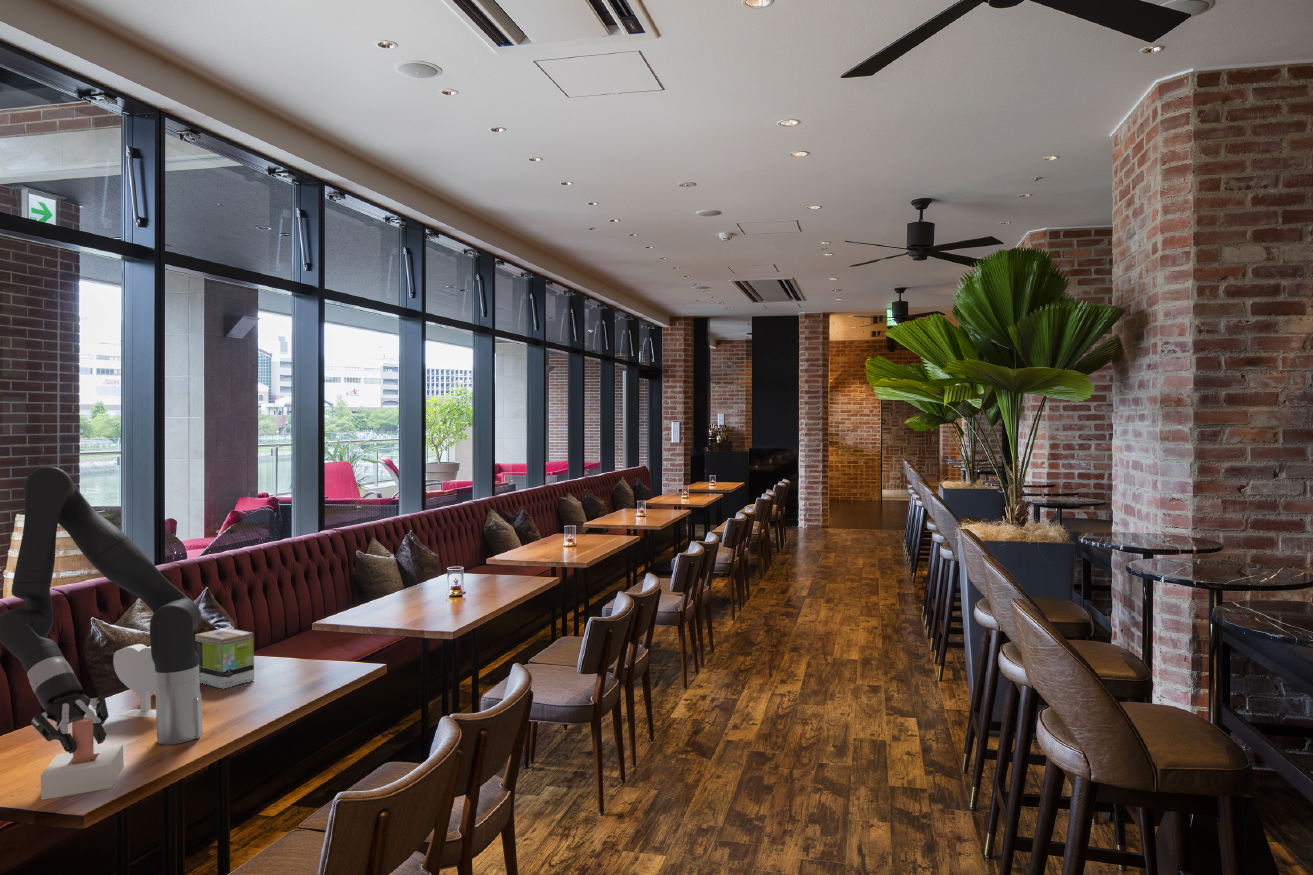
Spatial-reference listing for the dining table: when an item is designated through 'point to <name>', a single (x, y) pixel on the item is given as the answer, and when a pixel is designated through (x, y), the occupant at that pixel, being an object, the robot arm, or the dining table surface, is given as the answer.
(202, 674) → the tea box
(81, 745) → the pin
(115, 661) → the heart sculpture
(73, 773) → the block
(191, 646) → the robot arm
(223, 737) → the dining table surface
